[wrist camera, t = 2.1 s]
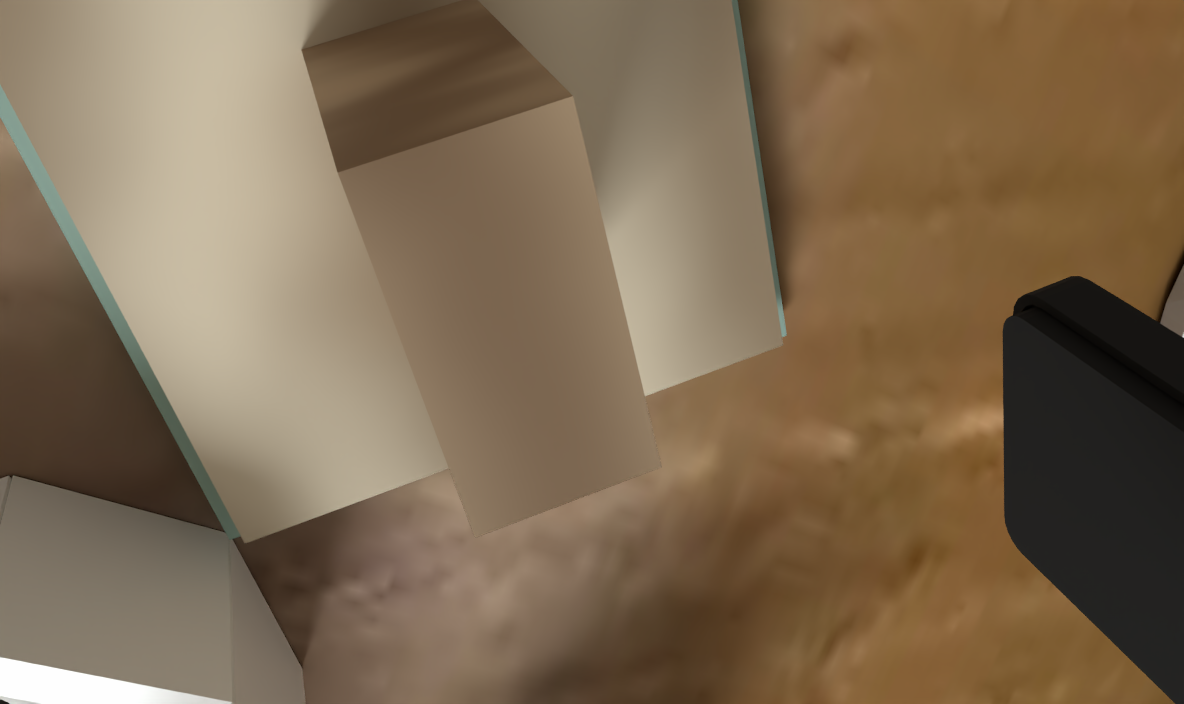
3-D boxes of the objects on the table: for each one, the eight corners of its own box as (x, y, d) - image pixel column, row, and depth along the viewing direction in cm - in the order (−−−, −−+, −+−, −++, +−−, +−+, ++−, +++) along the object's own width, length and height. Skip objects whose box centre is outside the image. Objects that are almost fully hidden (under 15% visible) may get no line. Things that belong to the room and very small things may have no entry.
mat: (678, -315, 19) (691, -316, 18) (775, 323, 26) (786, 335, 25) (-104, -99, 17) (-113, -93, 16) (229, 522, 24) (229, 540, 23)
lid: (668, -273, 18) (884, -272, 13) (763, 324, 25) (934, 508, 19) (-62, -69, 17) (-204, 41, 11) (243, 514, 23) (255, 779, 17)
